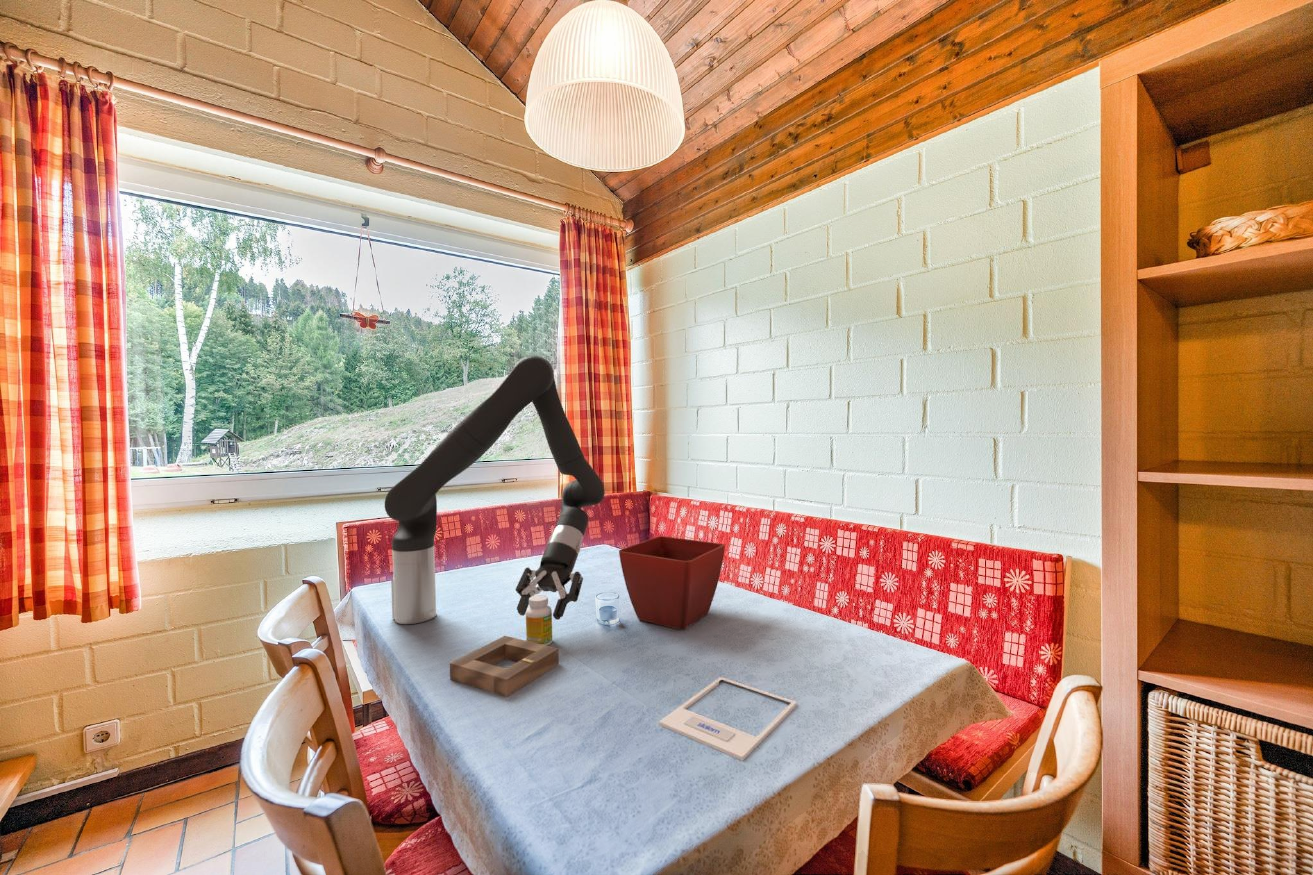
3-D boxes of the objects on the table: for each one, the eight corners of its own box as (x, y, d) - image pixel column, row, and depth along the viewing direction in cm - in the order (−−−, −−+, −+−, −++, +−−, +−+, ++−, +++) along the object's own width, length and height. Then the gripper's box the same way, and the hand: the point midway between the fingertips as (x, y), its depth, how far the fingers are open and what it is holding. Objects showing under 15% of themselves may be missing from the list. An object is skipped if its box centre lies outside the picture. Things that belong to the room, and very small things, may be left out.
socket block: (450, 679, 100) (449, 661, 99) (505, 649, 112) (504, 634, 112) (506, 696, 93) (506, 678, 93) (558, 663, 105) (558, 647, 105)
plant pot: (727, 611, 132) (726, 543, 131) (689, 639, 116) (688, 561, 115) (661, 598, 142) (660, 535, 141) (617, 622, 126) (616, 550, 125)
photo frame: (658, 720, 84) (720, 675, 98) (659, 727, 84) (720, 681, 98) (742, 755, 75) (796, 700, 89) (742, 763, 75) (796, 707, 89)
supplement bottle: (546, 649, 112) (545, 602, 112) (522, 647, 113) (520, 601, 113) (556, 638, 117) (555, 594, 117) (533, 637, 118) (531, 593, 118)
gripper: (529, 539, 125) (501, 604, 114) (585, 542, 120) (561, 611, 110) (541, 556, 130) (516, 620, 119) (596, 560, 125) (574, 627, 115)
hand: (538, 615), depth 115 cm, fingers open, 8 cm apart
